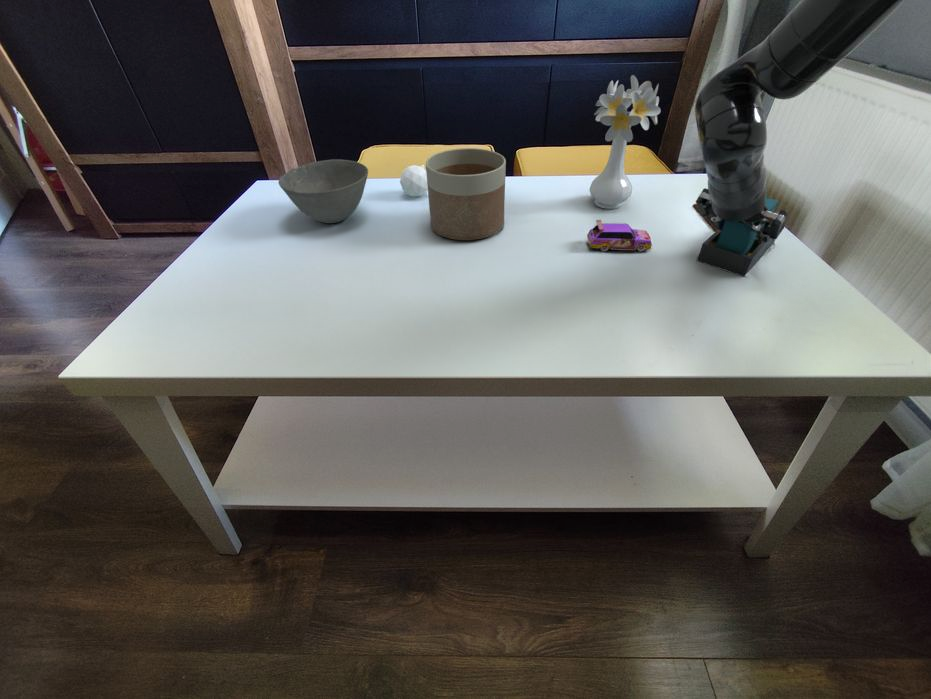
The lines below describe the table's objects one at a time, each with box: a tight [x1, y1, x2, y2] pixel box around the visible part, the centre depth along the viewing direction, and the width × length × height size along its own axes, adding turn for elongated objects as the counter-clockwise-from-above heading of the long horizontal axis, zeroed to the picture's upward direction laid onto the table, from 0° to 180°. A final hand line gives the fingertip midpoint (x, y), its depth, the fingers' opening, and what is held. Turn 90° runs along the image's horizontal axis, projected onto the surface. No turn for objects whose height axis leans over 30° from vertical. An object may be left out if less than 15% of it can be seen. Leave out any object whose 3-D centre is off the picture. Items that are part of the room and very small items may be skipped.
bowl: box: [278, 158, 369, 224], centre depth 100 cm, size 19×19×10 cm
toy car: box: [586, 219, 653, 253], centre depth 88 cm, size 6×12×5 cm, turn 86°
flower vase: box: [588, 74, 662, 210], centre depth 96 cm, size 13×18×25 cm
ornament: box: [399, 164, 428, 198], centre depth 109 cm, size 7×7×8 cm
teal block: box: [716, 221, 757, 255], centre depth 82 cm, size 4×6×8 cm
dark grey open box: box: [696, 230, 776, 277], centre depth 86 cm, size 9×16×4 cm, turn 137°
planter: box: [425, 147, 507, 241], centre depth 94 cm, size 16×16×14 cm
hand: (742, 232), depth 82 cm, fingers open, 7 cm apart
